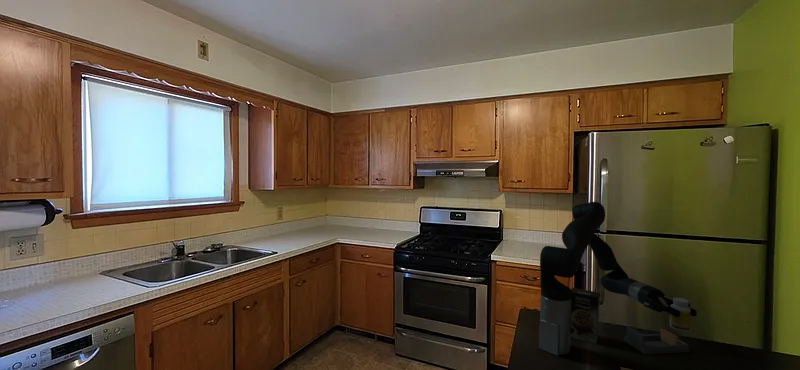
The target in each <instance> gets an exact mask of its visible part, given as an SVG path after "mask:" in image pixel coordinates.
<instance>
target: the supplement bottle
mask: <svg viewBox="0 0 800 370" xmlns="http://www.w3.org/2000/svg"><path fill="white" fill-rule="evenodd" d="M672 299H673V303H674V304H671V305H670V307H672V308H675V309H677V310H679V311H680V317H675V316H673V315H671V314H669V321H668V325H669V327H670V328H672V329H673V330H675V331H679V332H688V331H690V329H691V327H690V325H691V315H690V313H691V310H690V308H691V307H690V308H689V307H687V306H688V303H689V300H688V299H686V298H681V297H673V298H672Z"/></svg>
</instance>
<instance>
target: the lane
mask: <svg viewBox="0 0 800 370" xmlns="http://www.w3.org/2000/svg"><path fill="white" fill-rule="evenodd" d="M660 336H661V333H651V334H650V333H649V334H642V333H640V332H639V331H638V330H637V329H634V328H633V327H630V326H626V335H624V339H623V341H624V342H625V343H627V344H628V345H629V346H631V347H633V348H634V349H635V350H638V351H639V352H641V353H642V354H644V355H655V354H673V353H690V352H691V350H690V347H689V346H690V345H689V344H688V343H686V342H684V341H682V340H681V339H678V344H676V345H669V344H667V343H666V342H664V341H662V340H660Z"/></svg>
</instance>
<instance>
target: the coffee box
mask: <svg viewBox="0 0 800 370" xmlns="http://www.w3.org/2000/svg"><path fill="white" fill-rule="evenodd" d="M570 289H571V291H572V304H571V335H570V339H571V338H572V339H576V340H580V341H582V342H587V343H590V344H597V342H598V338H599V316H600V315H599V314H600V300H601V299H600V298H601V293H600V291H599V292H597V291H592V290H587V289H583V288H579V287H577V288H576V287H571V288H570Z"/></svg>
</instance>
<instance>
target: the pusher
mask: <svg viewBox="0 0 800 370" xmlns="http://www.w3.org/2000/svg"><path fill="white" fill-rule="evenodd" d="M660 334H661V336H660V340H662V341H664V342H666V343H667V344H669V345H676V344H678V340H679V336H678V335H676V334H674V333H672V332H670V331H668V330H666V329H665V328H660Z"/></svg>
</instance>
